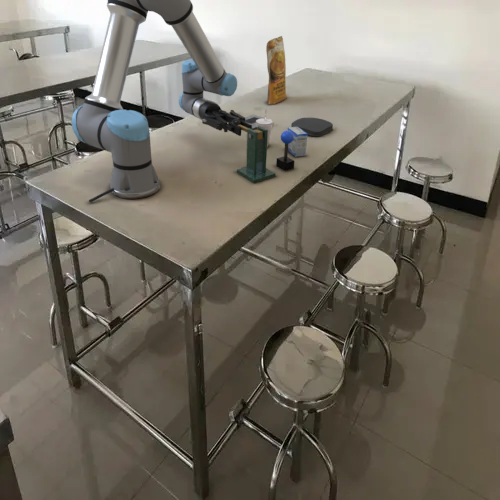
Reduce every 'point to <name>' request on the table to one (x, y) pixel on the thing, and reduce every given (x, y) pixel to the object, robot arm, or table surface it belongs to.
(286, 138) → the blue knob joystick
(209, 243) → the table surface
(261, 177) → the switch bracket
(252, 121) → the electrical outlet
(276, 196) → the table surface
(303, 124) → the media streaming box
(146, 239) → the table surface
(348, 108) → the table surface
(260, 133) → the switch lever
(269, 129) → the smoothie
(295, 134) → the medicine box
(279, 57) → the pancake mix bag
